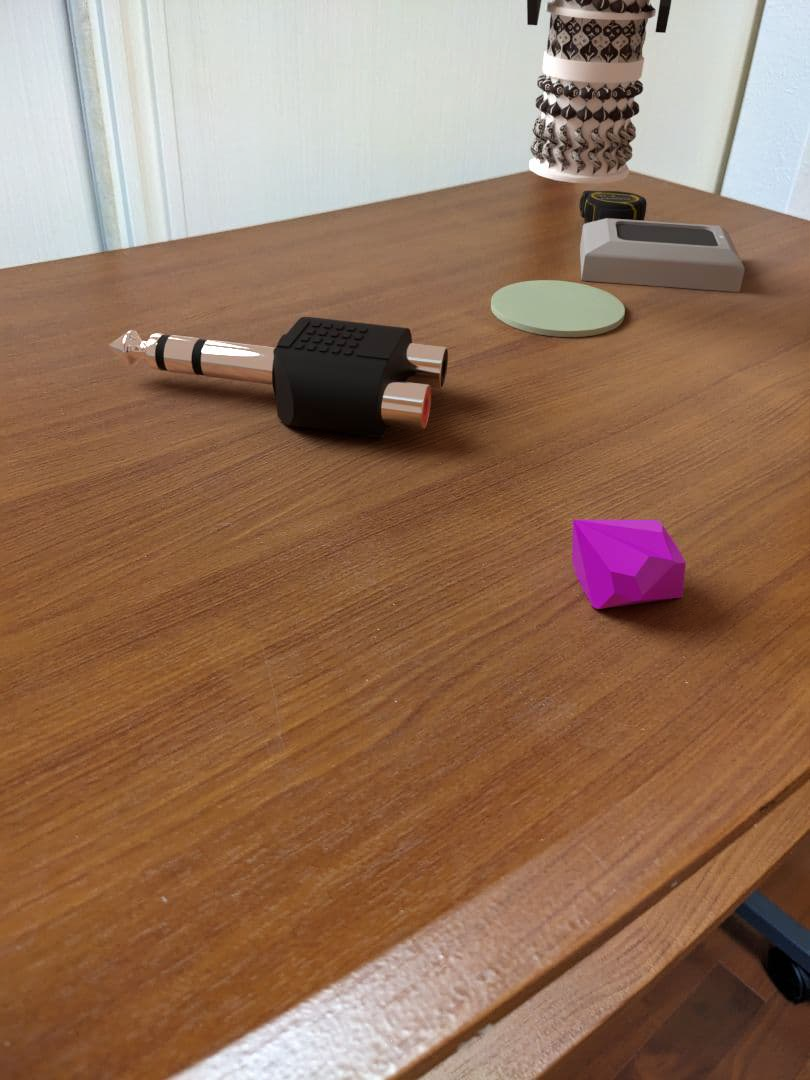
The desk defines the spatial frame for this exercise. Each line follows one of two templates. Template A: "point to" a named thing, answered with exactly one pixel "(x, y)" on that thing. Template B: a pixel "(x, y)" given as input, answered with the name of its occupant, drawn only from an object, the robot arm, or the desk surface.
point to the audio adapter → (315, 371)
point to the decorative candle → (589, 89)
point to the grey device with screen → (660, 255)
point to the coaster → (557, 308)
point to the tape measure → (611, 206)
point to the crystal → (626, 562)
